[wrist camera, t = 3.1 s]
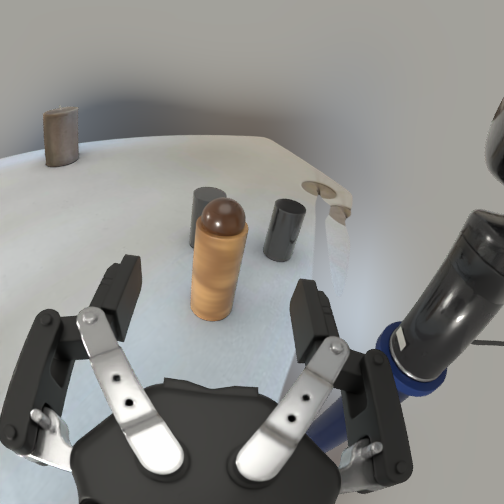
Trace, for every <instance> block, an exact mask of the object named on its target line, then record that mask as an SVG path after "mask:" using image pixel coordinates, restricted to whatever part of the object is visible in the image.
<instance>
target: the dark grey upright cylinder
mask: <svg viewBox="0 0 504 504" xmlns="http://www.w3.org/2000/svg"><path fill="white" fill-rule="evenodd" d="M305 213H306V208H305V207H304V206H303V205H302V204H300V203H298V202H296V201H293V200H290V199H279V200H277V201H276V202H275V205H274V209H273V213H272V217H271V220H270V224H269V228H268V232H267V236H266V240H265V244H264V247H263V252H264V254H265V255H266V256H267V257H268V258H270V259H272V260H274V261H279V262H284V261H287V260H289V259H290V258H291V256H292V253H293V250H294V247H295V244H296V241H297V238H298V235H299V232H300V229H301V226H302V222H303V219H304V216H305Z"/></svg>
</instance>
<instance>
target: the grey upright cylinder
mask: <svg viewBox="0 0 504 504" xmlns="http://www.w3.org/2000/svg"><path fill="white" fill-rule="evenodd" d="M222 197H225V198H226V193H225V192H224V191H222V190H220V189H217V188H213V187H201V188H198V189H196V190H195V191H194V193H193V204H192V215H191V227H190V241H189V242H190V245H191V246H192V247H193V248H194V243H195V231H196V222H197V219H198V218H199V217H200V216H201V215H202V212H203V210H204V208H205V207H206V205H207V204H208V203H209V202H211V201H212V200H214V199H217V198H222Z"/></svg>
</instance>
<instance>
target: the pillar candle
mask: <svg viewBox="0 0 504 504" xmlns="http://www.w3.org/2000/svg"><path fill="white" fill-rule="evenodd" d="M43 125H44V143H45V144H44V145H45V156H46V165H47V166H50V167H57V166H64V165H67V164H70V163H72V162H74V161H76V160H77V159H78V158H79V149H78V107H63V108H61V107H60V108H58V109H53V110H50V111H47V112H45V113H44V115H43Z"/></svg>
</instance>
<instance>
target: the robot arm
mask: <svg viewBox="0 0 504 504" xmlns="http://www.w3.org/2000/svg"><path fill="white" fill-rule="evenodd" d="M485 161H486V165H487V168H488V170H489V171H490V173H491V174H492V175H493V176H494V178H495V179H497V180H498V181H499V182H500V183H501V184H502V185H504V98H503V99H502V101H501V103H500V106H499V107H498V110H497V112H496V114H495V116H494V118H493V121H492V123H491V125H490V129H489V132H488V135H487V139H486V144H485ZM141 286H142V273H141V259H140V256H134V255H127V254H126V255H125V256H124V257H123V259H122V261H121V264H118V263H114V264H113V265H112V266H110V267H109V268H108V269H107V271H106V273H105V275H104V278H103V279H102V281H101V284H100V285H99V287H98V289H97V291H96V293H95V295H94V297H93V299H92V302H91V304H90V306H89V307H87V308H84V309H83V310H81V311H80V312H79V314H78V315H77V316H68V317H60V315H59V313H58V312H57V311H55V310H53V309H46V310H43V311H41V312H40V313H39V314H38V315H37V316H36V318H35V320H34V322H33V324H32V327H31V329H30V331H29V334H28V336H27V338H26V341H25V343H24V346H23V348H22V351H21V353H20V356H19V359H18V361H17V364H16V367H15V370H14V372H13V375H12V378H11V381H10V384H9V388H8V391H7V394H6V398H5V401H4V405H3V408H2V412H1V416H0V441H1V442H2V444H3V445H4V446H5V447H7V448H8V449H10V450H12V451H14V452H15V453H16V454H18V455H19V456H21V457H23V458H25V459H27V460H29V461H31V462H35V463H37V464H39V465H42V466H47V465H50V466H53V467H56V468H59V469H62V470H65V471H68V472H71V473H72V475H73V477H74V480H75V483H76V486H77V490H78V496H79V504H335V501H336V499H337V497H338V495H339V494H342V493H350V492H356V491H357V492H358V493H361V494H366V493H370V492H374V491H377V490H380V489H384V488H387V487H390V486H393V485H396V484H399V483H402V482H405V481H406V480H407V479H408V478H409V477H410V476H411V474H412V471H413V463H412V457H411V451H410V446H409V441H408V436H407V431H406V426H405V422H404V417H403V413H402V408H401V404H400V400H399V396H398V392H397V388H396V385H395V381H394V377H393V373H392V370H391V366H390V363H389V360H388V358H387V356H386V355H385V354H384V353H383V352H382V351H380V350H377V349H371V350H369V351H367V353H366V354H363V353H360V352H357V351H353V350H351V349H349V346H348V344H347V343H346V342H345V341H344V340H343V339H341V338H340V337H339V334H338V330H337V327H336V323H335V320H334V316H333V315H332V314H333V313H332V310H331V306H330V302H329V299H328V298H327V296H326V295H325V294H324V292H323V291H318V289H317V286H316V282H315V281H314V280H307V279H299V281H298V283H297V286H296V288H295V291H294V293H293V296H292V298H291V301H290V316H291V322H292V329H293V335H294V341H295V348H296V355H297V361H298V363H305V366H306V367H305V369H304V370H303V372H302V373H301V374H300V376H299V377H298V379H297V380H296V381H295V383H294V384H293V385H292V387H291V388H290V390H289V391H288V392H287V394H286V395H285V396H284V398H283V399H282V400H281V402H280V403H279V404H277V403H276V402H275V401H273V400H272V399H270V398H268V397H266V396H264V395H262V394H258V387H243V386H232V387H225V388H217V389H209V388H206V387H203V386H200V385H197V384H194V383H192V382H189V381H185V380H178V379H171V378H165V377H164V383H162V384H155V385H152V386H149V387H146V388H144V389H143V387H142V386H141V384H140V382H139V380H138V378H137V377H136V375H135V373H134V371H133V369H132V367H131V365H130V363H129V361H128V360H127V358H126V356H125V354H124V352H123V350H122V348H121V347H120V346H119V345H118V342H117V341H121V342H124V340H125V337H126V334H127V330H128V327H129V324H130V321H131V318H132V315H133V312H134V309H135V306H136V303H137V300H138V297H139V294H140V291H141ZM503 305H504V214H499V213H495V212H491V211H487V210H483V209H475V210H473V211H472V212H471V213H470V214H469V216H468V218H467V220H466V222H465V224H464V226H463V227H462V229H461V231H460V233H459V235H458V237H457V239H456V240H455V242H454V244H453V246H452V248H451V249H450V251H449V253H448V255H447V256H446V258H445V260H444V262H443V263H442V265H441V266H440V268H439V269H438V271H437V273H436V274H435V276H434V277H433V279H432V280H431V282H430V283H429V285H428V287H427V288H426V289H425V291H424V292H423V294H422V295H421V297H420V298H419V300H418V301H417V302H416V304H415V305H414V307H413V308H412V309H411V311H410V312H409V314H408V315H407V316H406V318H405V319H404V320H403V321H402V323H401V324H400V325H399V327H398V328H396V329H395V331H394V332H393V333H392V335H391V336H390V339H389V352H390V355H391V358H392V360H393V362H394V364H395V365H396V367H397V368H398V369H399V370H400V371H401V372H402V373H403V374H404V375H405V376H406V377H408V378H410V379H411V380H413V381H416V382H420V383H428V382H431V381H433V380H435V379H436V378H437V377H438V376H439V375H440V374H441V373H442V372H443V371H444V370H445V369H446V368H447V367H448V366H449V365H450V364H451V363H452V362H453V361H454V360H455V359H456V358H457V357H458V356H459V355H460V354H461V353H462V352H463V351H464V350H465V349H466V348H467V347H468V346H469V345H470V344H474V345H498V346H504V342H501V341H484V340H483V341H482V340H475V338H476V337H477V336H478V335H479V334H480V333H481V332H482V331H483V329H484V328H485V327H486V326H487V325H488V324H489V322H490V321H491V320H492V319H493V318H494V316H495V315H496V314H497V313H498V311H499V310H500V309H501V307H502V306H503ZM83 359H89V360H90V363H91V366H92V368H93V370H94V373H95V375H96V378H97V380H98V382H99V385H100V387H101V389H102V391H103V393H104V396H105V398H106V400H107V402H108V404H109V406H110V408H111V410H112V412H113V413H112V414H111V415H110V416H108V417H107V418H106V419H105V420H103V421H102V422H101V423H100V424H98V425H97V426H96V427H95V428H93V429H92V430H91V431H90V432H88V433H87V434H86V435H84V436H83V437H82V438H81V439H79V440H78V441H77V442H76V443H75V445H74V446H72V445H71V443H70V440H69V429H68V426H67V424H66V423H65V421H64V420H63V419H61V415H62V411H63V406H64V401H65V397H66V393H67V389H68V385H69V381H70V377H71V373H72V370H73V366H74V363H75V360H83ZM333 388H336V389H340V390H341V394H342V401H343V408H344V415H345V423H346V431H347V439H348V446H349V447H347V448H346V449H345V450H344V451H343V453H342V455H341V463H340V466H339V467H337V466H336V464H335V463H334V462H333V461H332V460H331V459H330V458H329V457H328V456H327V455H326V454H325V453H324V452H323V451H322V450H321V449H320V448H319V447H318V446H317V445H316V444H315V443H314V442H313V441H312V440H311V439H310V438H309V437H308V436H307V435H306V431H307V430H308V428H309V426H310V425H311V423H312V421H313V420H314V419H315V417H316V415H317V414H318V412H319V411H320V409H321V407H322V406H323V404H324V403H325V401H326V399H327V398H328V396H329V394H330V392H331V391H332V389H333Z"/></svg>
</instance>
